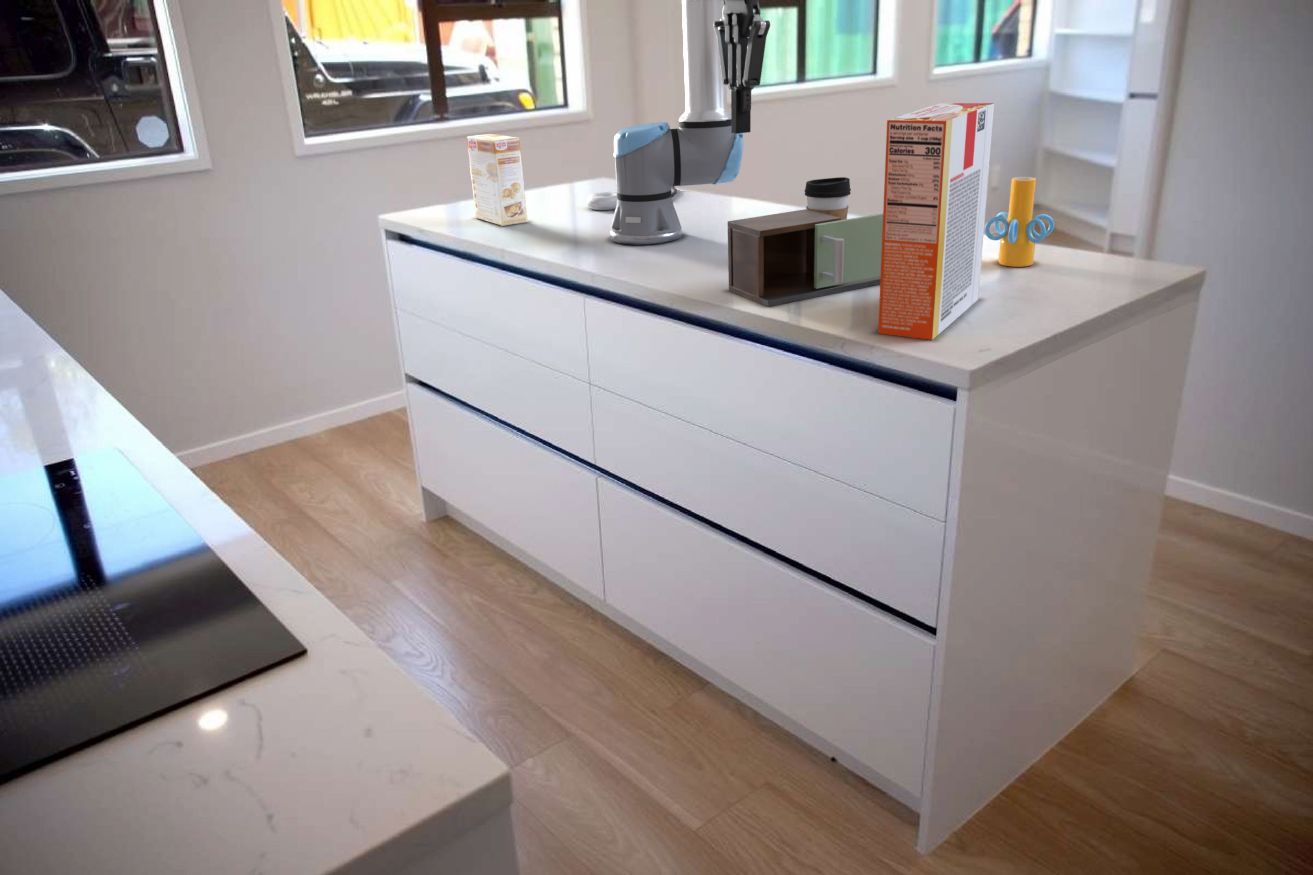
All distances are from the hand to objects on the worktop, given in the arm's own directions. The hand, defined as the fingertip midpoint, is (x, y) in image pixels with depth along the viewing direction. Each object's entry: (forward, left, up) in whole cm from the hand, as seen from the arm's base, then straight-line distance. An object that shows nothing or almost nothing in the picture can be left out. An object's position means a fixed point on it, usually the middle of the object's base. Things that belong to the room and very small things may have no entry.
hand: (740, 132), depth 161 cm
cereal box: (+10, +32, -26) cm, 43 cm away
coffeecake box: (-56, -72, -26) cm, 95 cm away
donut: (-73, -51, -26) cm, 93 cm away
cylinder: (-25, +45, -27) cm, 58 cm away
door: (-2, +20, -25) cm, 32 cm away
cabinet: (-5, +11, -26) cm, 29 cm away
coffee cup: (-24, +11, -26) cm, 37 cm away
